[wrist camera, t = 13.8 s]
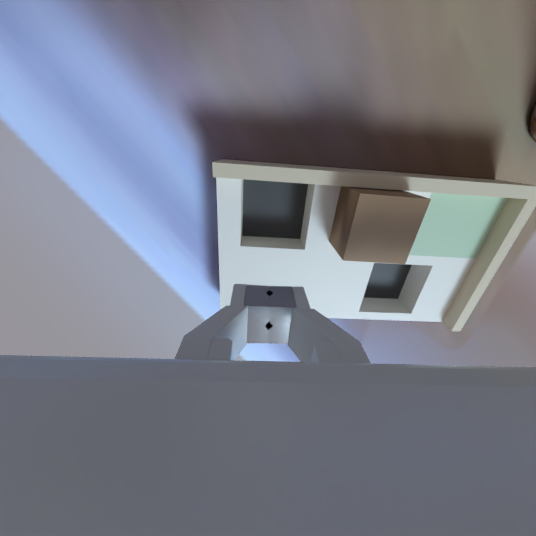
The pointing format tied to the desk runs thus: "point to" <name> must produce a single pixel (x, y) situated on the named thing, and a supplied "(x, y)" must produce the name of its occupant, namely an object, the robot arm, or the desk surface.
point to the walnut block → (376, 224)
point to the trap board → (354, 272)
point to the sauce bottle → (533, 124)
